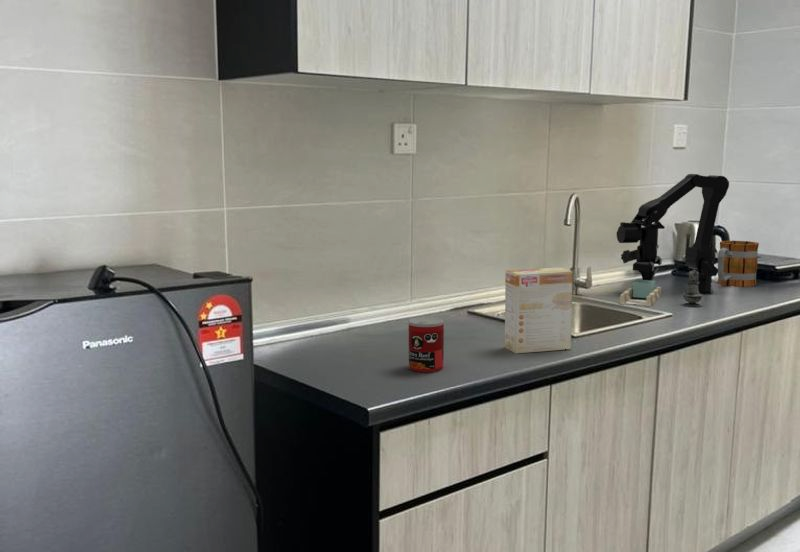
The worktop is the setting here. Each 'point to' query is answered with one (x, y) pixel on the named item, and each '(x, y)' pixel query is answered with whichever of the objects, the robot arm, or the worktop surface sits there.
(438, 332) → the canned food
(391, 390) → the worktop surface
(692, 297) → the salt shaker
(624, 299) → the chute
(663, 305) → the worktop surface
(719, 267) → the mug
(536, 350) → the coffeecake box
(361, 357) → the worktop surface
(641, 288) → the block
